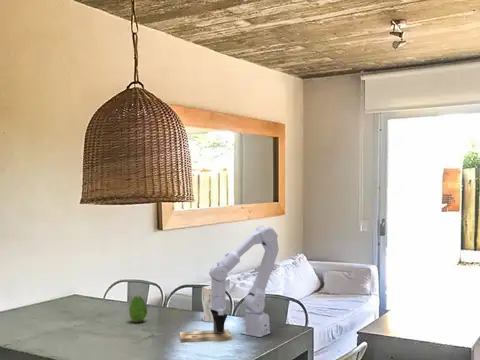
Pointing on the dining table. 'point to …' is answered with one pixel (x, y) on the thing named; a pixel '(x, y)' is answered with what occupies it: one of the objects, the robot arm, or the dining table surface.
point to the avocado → (138, 309)
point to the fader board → (204, 336)
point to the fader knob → (216, 328)
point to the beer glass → (207, 304)
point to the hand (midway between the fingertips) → (218, 329)
